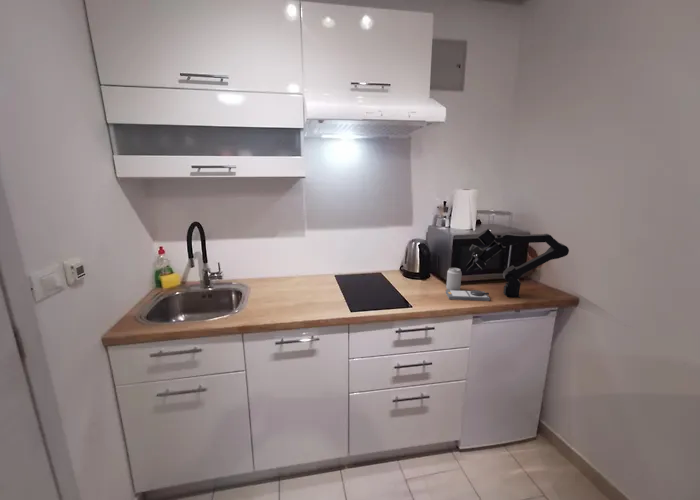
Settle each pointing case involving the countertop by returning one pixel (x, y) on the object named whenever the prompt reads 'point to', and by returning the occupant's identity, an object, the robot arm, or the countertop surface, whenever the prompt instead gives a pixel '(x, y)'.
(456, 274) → the can
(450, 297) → the grey flat device
